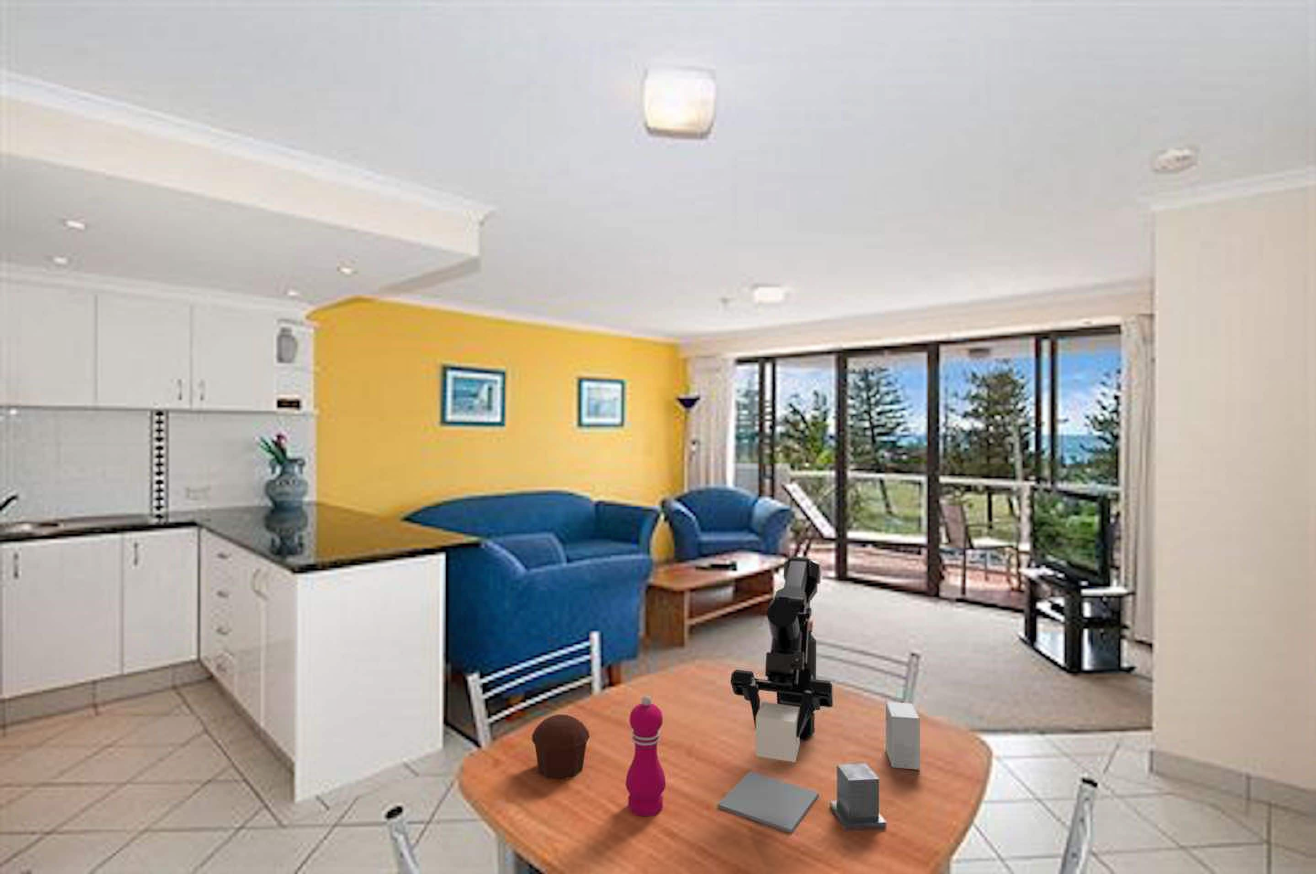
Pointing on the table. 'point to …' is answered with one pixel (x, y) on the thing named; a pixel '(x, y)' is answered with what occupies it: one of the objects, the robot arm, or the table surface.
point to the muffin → (560, 746)
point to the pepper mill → (645, 761)
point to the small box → (903, 735)
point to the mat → (769, 801)
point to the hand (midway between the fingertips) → (776, 733)
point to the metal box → (857, 798)
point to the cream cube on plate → (777, 731)
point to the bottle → (811, 651)
